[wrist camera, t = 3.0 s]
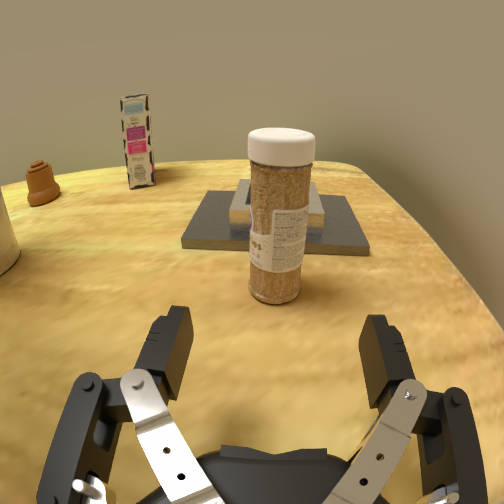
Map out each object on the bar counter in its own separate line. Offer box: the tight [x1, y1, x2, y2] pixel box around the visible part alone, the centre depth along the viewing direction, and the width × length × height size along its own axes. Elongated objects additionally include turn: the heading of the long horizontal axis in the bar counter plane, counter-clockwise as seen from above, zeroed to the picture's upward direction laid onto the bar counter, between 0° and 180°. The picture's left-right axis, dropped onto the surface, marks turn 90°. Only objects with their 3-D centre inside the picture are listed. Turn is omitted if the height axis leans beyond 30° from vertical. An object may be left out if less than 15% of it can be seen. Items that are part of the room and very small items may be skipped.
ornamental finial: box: [26, 160, 60, 206], centre depth 45 cm, size 8×8×8 cm
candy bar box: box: [120, 94, 155, 189], centre depth 48 cm, size 11×5×16 cm, turn 18°
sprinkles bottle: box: [248, 128, 315, 304], centre depth 22 cm, size 5×5×13 cm
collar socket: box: [181, 179, 370, 256], centre depth 36 cm, size 20×14×4 cm
